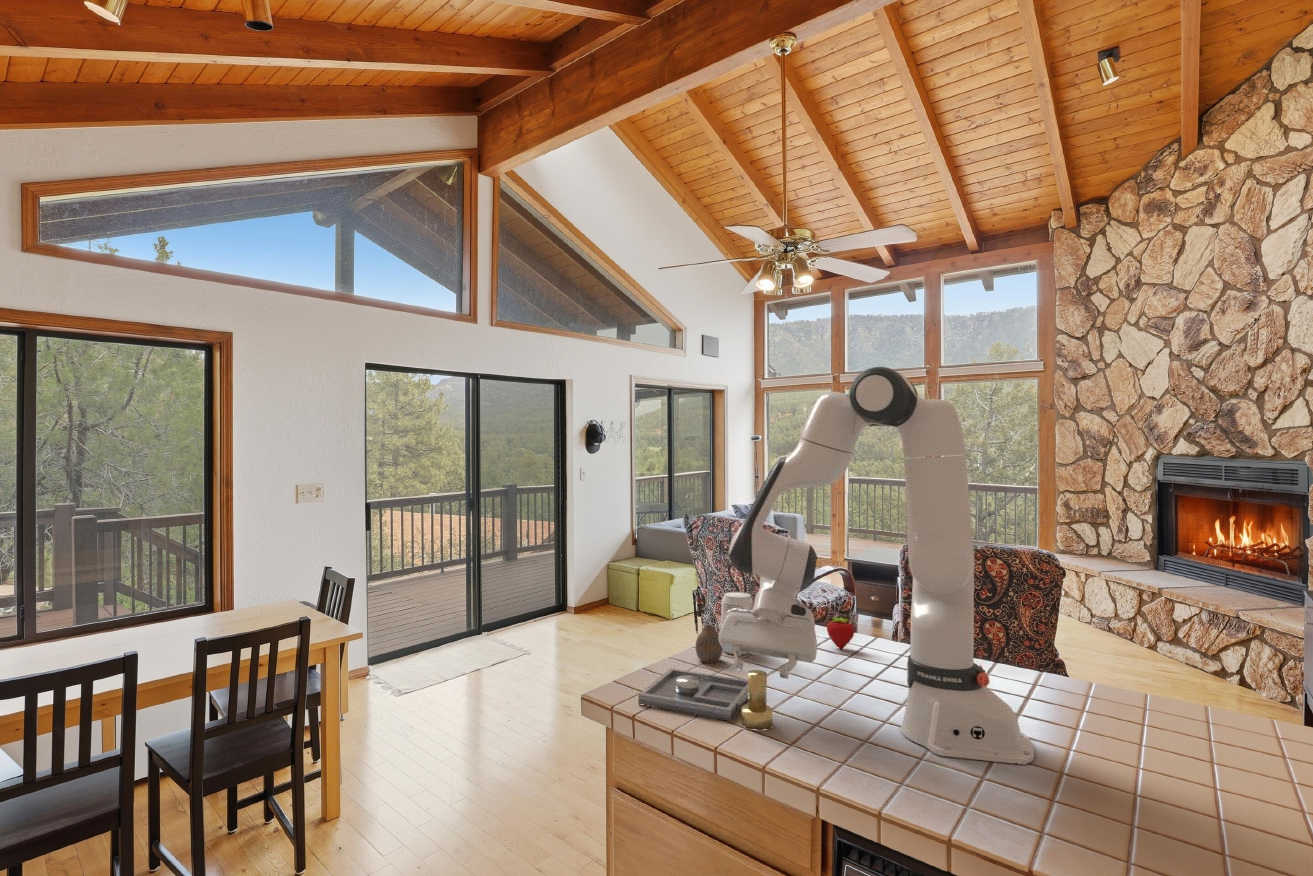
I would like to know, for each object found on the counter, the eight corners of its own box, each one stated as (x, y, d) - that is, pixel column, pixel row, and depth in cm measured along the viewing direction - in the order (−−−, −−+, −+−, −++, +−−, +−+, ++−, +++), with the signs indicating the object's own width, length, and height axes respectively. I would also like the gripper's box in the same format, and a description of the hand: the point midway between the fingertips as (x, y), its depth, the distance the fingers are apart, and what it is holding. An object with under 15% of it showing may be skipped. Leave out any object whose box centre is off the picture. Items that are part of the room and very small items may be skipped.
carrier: (756, 691, 146) (756, 675, 147) (732, 722, 130) (732, 703, 130) (670, 677, 155) (670, 662, 155) (638, 704, 138) (638, 687, 138)
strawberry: (849, 654, 174) (850, 616, 175) (822, 649, 179) (823, 612, 179) (857, 649, 179) (858, 612, 179) (831, 644, 184) (831, 608, 184)
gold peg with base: (775, 721, 131) (776, 670, 131) (768, 733, 125) (768, 680, 125) (745, 716, 133) (746, 666, 133) (737, 727, 127) (738, 675, 128)
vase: (722, 657, 171) (723, 623, 171) (722, 665, 164) (723, 630, 164) (695, 655, 171) (696, 622, 172) (694, 664, 165) (695, 629, 165)
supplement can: (716, 647, 179) (717, 592, 179) (744, 645, 181) (744, 590, 182) (728, 656, 171) (729, 598, 171) (757, 654, 174) (758, 597, 174)
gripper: (723, 599, 144) (707, 657, 135) (819, 611, 136) (808, 673, 127) (729, 615, 148) (714, 672, 139) (822, 627, 140) (812, 689, 131)
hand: (760, 673), depth 133 cm, fingers open, 8 cm apart
